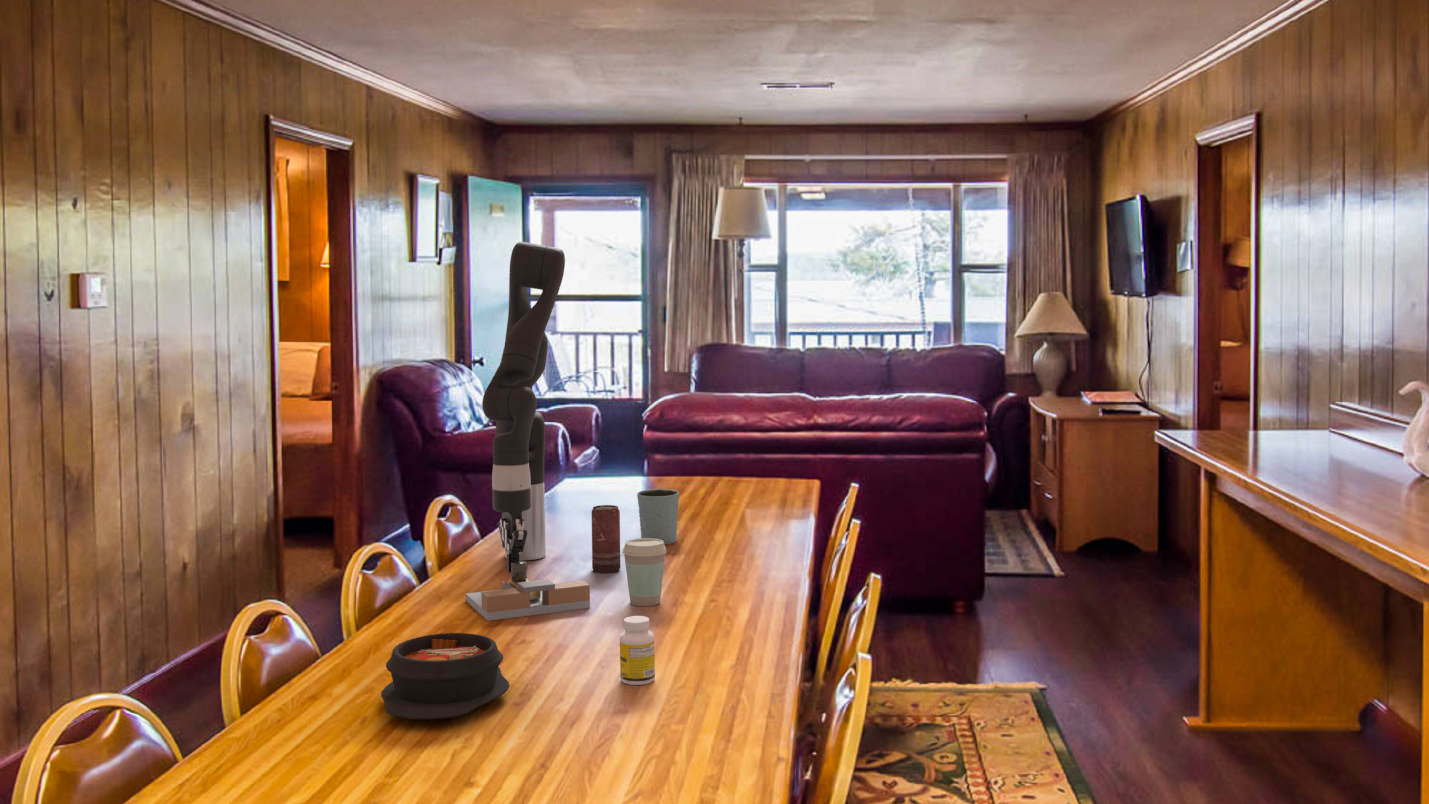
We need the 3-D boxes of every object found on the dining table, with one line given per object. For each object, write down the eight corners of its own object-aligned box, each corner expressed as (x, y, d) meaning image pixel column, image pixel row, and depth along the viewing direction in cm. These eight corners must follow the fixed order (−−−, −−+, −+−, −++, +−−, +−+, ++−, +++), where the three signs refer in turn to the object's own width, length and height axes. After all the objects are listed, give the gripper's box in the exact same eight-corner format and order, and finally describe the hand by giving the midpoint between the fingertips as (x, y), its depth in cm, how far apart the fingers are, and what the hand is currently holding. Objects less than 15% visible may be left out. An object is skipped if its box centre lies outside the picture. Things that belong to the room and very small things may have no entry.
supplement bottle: (620, 675, 190) (619, 614, 189) (654, 674, 190) (653, 613, 190) (620, 686, 185) (619, 624, 184) (655, 685, 185) (655, 623, 184)
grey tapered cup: (682, 537, 296) (681, 489, 295) (676, 545, 286) (676, 496, 285) (641, 536, 297) (640, 488, 296) (634, 545, 287) (634, 495, 286)
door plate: (466, 600, 236) (465, 573, 236) (563, 589, 245) (562, 562, 244) (487, 621, 222) (487, 591, 221) (590, 608, 230) (589, 580, 230)
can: (617, 574, 258) (616, 509, 257) (588, 572, 259) (587, 508, 258) (624, 567, 264) (624, 504, 263) (597, 566, 265) (596, 503, 264)
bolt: (509, 589, 238) (508, 561, 238) (525, 587, 240) (524, 560, 239) (524, 600, 229) (523, 572, 229) (540, 598, 231) (539, 570, 230)
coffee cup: (673, 599, 237) (673, 539, 236) (657, 609, 229) (656, 547, 228) (633, 595, 240) (632, 536, 239) (616, 606, 232) (615, 545, 231)
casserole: (410, 673, 192) (408, 622, 191) (525, 675, 191) (524, 623, 190) (355, 731, 167) (353, 672, 166) (487, 733, 166) (486, 673, 165)
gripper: (539, 489, 235) (541, 576, 236) (520, 480, 247) (522, 563, 248) (502, 492, 232) (504, 580, 233) (484, 482, 243) (486, 567, 245)
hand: (513, 571), depth 241 cm, fingers closed
